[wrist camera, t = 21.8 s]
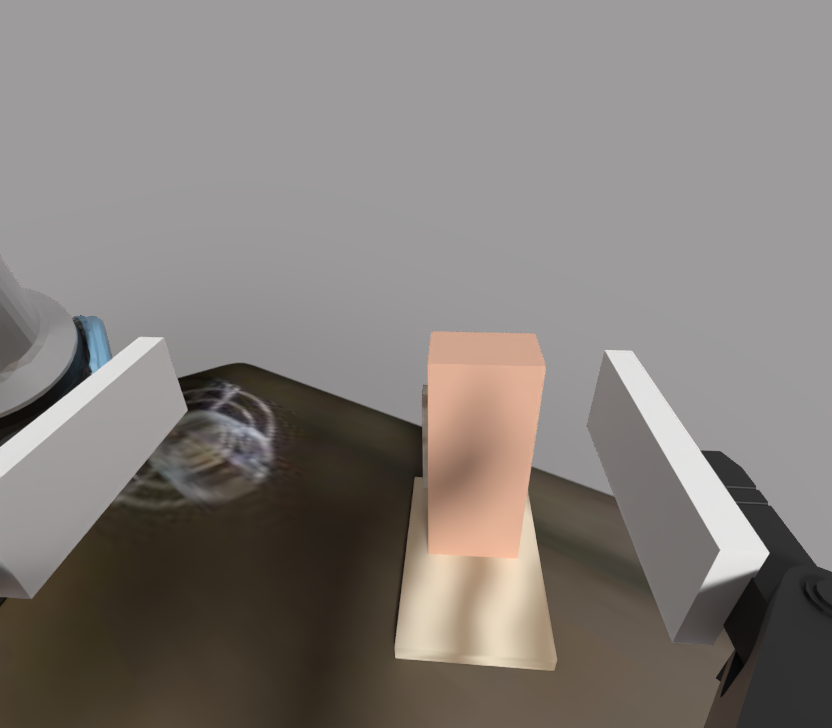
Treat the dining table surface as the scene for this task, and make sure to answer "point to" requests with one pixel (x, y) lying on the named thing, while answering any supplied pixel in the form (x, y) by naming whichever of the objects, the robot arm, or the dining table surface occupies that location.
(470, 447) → the salmon pink rectangular block
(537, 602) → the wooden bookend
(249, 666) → the dining table surface
